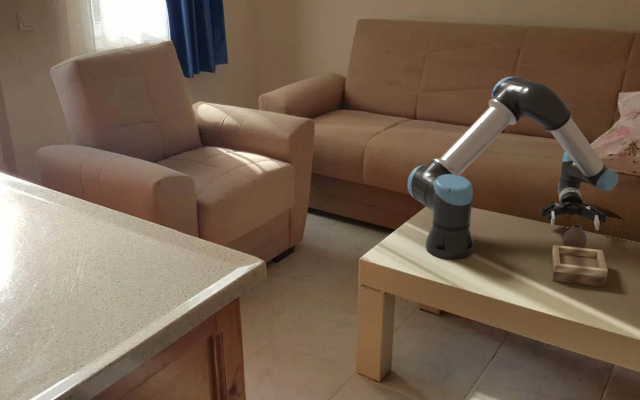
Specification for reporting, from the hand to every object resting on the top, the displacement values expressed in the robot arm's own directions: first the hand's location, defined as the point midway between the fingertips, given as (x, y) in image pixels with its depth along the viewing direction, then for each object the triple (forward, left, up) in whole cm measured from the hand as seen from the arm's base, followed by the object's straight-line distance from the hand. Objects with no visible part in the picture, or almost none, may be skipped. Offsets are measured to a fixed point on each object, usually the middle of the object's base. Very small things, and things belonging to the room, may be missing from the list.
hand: (575, 224), depth 202 cm
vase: (-4, -7, -6) cm, 10 cm away
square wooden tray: (-10, -21, -6) cm, 24 cm away
